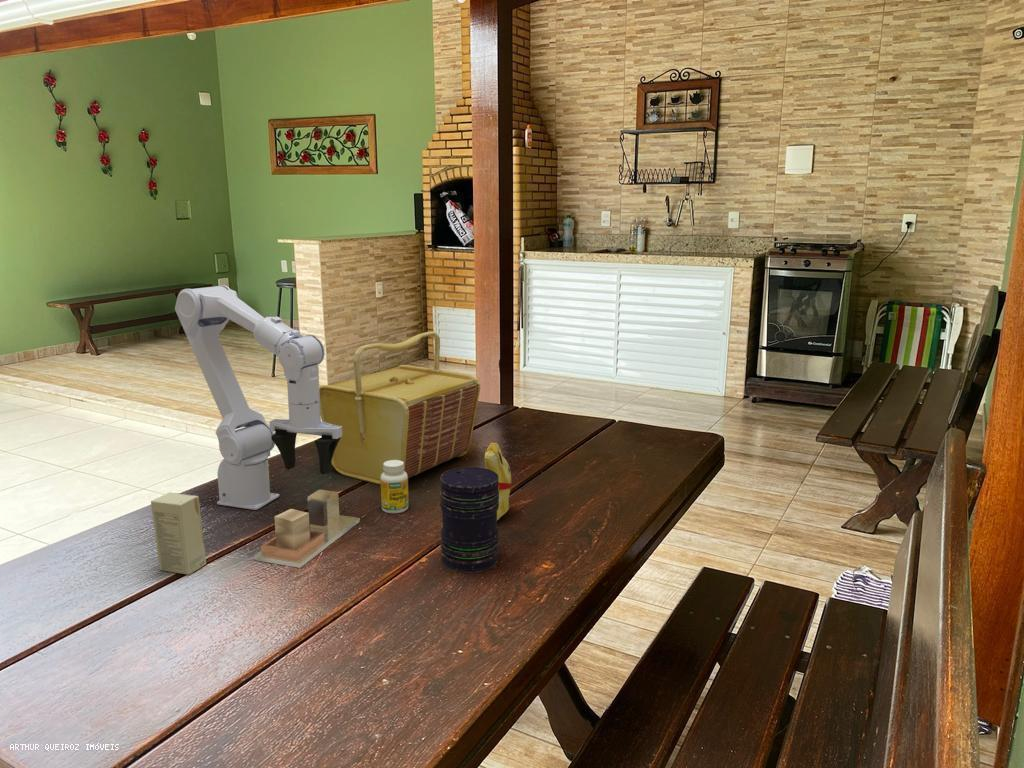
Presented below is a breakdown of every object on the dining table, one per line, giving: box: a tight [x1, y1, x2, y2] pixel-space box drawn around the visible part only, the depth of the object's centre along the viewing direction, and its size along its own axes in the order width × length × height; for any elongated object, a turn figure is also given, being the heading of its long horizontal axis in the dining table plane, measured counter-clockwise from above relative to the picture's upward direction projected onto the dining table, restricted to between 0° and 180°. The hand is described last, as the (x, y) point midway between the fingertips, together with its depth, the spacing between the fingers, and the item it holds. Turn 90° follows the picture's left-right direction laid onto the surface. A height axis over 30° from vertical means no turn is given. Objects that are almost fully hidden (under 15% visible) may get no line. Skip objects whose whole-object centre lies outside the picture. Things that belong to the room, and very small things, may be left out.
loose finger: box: [273, 508, 311, 550], centre depth 131 cm, size 4×5×6 cm
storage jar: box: [439, 466, 500, 574], centre depth 127 cm, size 10×10×15 cm
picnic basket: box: [319, 331, 481, 486], centre depth 172 cm, size 29×26×30 cm
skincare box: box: [150, 492, 207, 575], centre depth 124 cm, size 6×4×12 cm
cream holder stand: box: [253, 489, 360, 569], centre depth 135 cm, size 9×20×7 cm, turn 162°
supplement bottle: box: [380, 460, 410, 514], centre depth 149 cm, size 5×5×10 cm
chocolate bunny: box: [483, 442, 513, 521], centre depth 146 cm, size 7×11×15 cm, turn 155°
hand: (307, 470), depth 144 cm, fingers open, 7 cm apart
